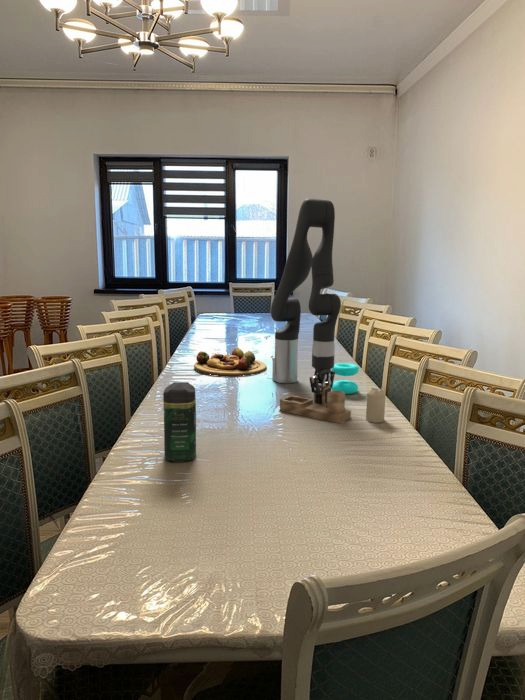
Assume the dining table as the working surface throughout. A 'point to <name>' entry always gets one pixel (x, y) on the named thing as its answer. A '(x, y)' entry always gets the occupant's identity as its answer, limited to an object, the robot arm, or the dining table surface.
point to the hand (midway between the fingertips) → (321, 402)
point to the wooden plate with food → (229, 364)
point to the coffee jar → (179, 421)
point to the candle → (375, 405)
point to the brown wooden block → (323, 394)
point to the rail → (318, 407)
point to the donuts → (345, 370)
